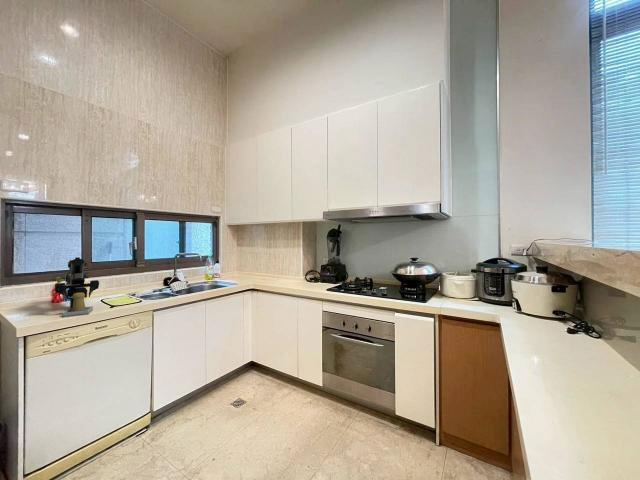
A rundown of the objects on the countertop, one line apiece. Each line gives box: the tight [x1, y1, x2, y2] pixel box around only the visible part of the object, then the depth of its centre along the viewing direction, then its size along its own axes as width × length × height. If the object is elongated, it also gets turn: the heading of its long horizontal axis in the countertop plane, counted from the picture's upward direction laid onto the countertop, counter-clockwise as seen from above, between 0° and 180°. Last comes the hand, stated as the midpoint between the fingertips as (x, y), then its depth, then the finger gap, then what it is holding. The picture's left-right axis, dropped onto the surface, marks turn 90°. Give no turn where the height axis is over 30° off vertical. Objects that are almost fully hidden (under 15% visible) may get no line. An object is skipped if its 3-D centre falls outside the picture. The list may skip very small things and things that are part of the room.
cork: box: [72, 293, 86, 312], centre depth 147 cm, size 6×6×11 cm
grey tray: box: [62, 306, 94, 318], centre depth 147 cm, size 10×10×2 cm
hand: (78, 298), depth 147 cm, fingers open, 9 cm apart
